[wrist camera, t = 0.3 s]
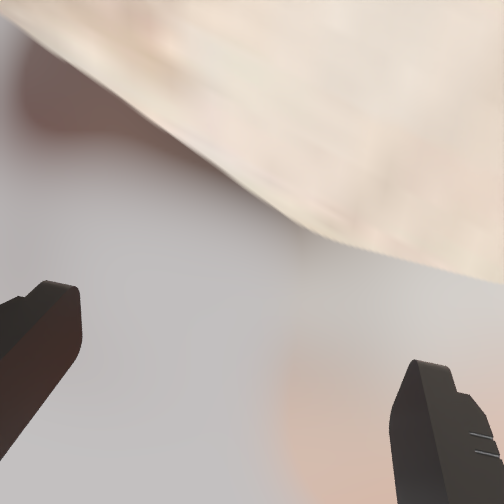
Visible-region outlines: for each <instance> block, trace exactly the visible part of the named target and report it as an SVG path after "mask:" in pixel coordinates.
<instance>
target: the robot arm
mask: <svg viewBox="0 0 504 504" xmlns="http://www.w3.org/2000/svg"><path fill="white" fill-rule="evenodd" d="M81 344H82V321H81V305H80V293H79V290H78V288H77V287H75V286H71V285H66V284H61V283H56V282H52V281H47V280H46V281H43V282H41V283H40V284H39V285H38V286H37V287H35V288H34V289H33V290H32V291H31V292H30V293H29V294H28V295H27V296H26V297H20V296H17V297H15V298H13V299H11V300H9V301H7V302H5V303H3V304H1V305H0V461H1V459H2V458H3V456H4V455H5V454H6V453H7V451H8V450H9V448H10V447H11V446H12V444H13V443H14V442H15V440H16V439H17V438H18V436H19V435H20V434H21V432H22V431H23V429H24V428H25V427H26V426H27V424H28V423H29V421H30V420H31V419H32V418H33V416H34V415H35V414H36V412H37V411H38V410H39V408H40V407H41V406H42V404H43V403H44V401H45V400H46V399H47V397H48V396H49V395H50V393H51V392H52V391H53V389H54V388H55V386H56V385H57V384H58V383H59V381H60V380H61V378H62V377H63V376H64V375H65V373H66V372H67V370H68V369H69V368H70V367H71V365H72V364H73V363H74V361H75V359H76V358H77V356H78V353H79V351H80V348H81ZM389 435H390V444H391V452H392V461H393V469H394V477H395V486H396V494H397V501H398V502H397V503H398V504H504V465H503V462H502V460H501V459H500V454H499V451H498V448H497V445H496V442H495V441H493V434H492V431H491V429H490V426H489V423H488V420H487V417H486V415H485V414H484V412H483V411H482V410H481V409H480V407H479V406H478V405H477V404H476V402H475V401H474V400H473V399H472V397H471V396H470V395H468V394H463V393H459V392H457V390H456V387H455V384H454V381H453V377H452V374H451V371H450V369H449V368H448V367H447V366H443V365H438V364H433V363H428V362H423V361H419V360H412V361H411V363H410V364H409V367H408V369H407V371H406V374H405V376H404V379H403V381H402V384H401V387H400V389H399V392H398V394H397V396H396V399H395V401H394V404H393V406H392V410H391V415H390V422H389Z"/></svg>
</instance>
